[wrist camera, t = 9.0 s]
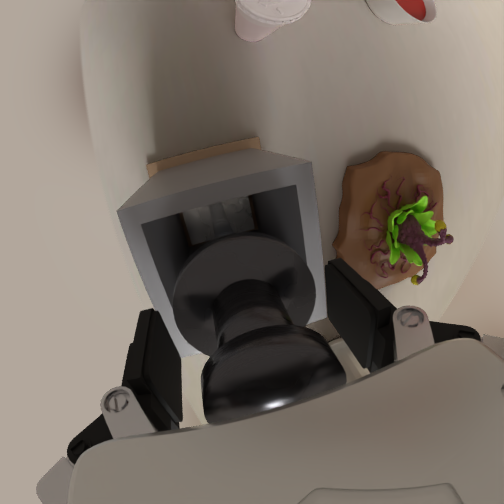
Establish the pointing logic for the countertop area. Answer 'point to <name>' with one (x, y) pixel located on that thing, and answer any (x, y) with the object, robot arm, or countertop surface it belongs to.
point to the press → (214, 191)
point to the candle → (404, 11)
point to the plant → (391, 218)
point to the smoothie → (266, 16)
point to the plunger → (249, 316)
